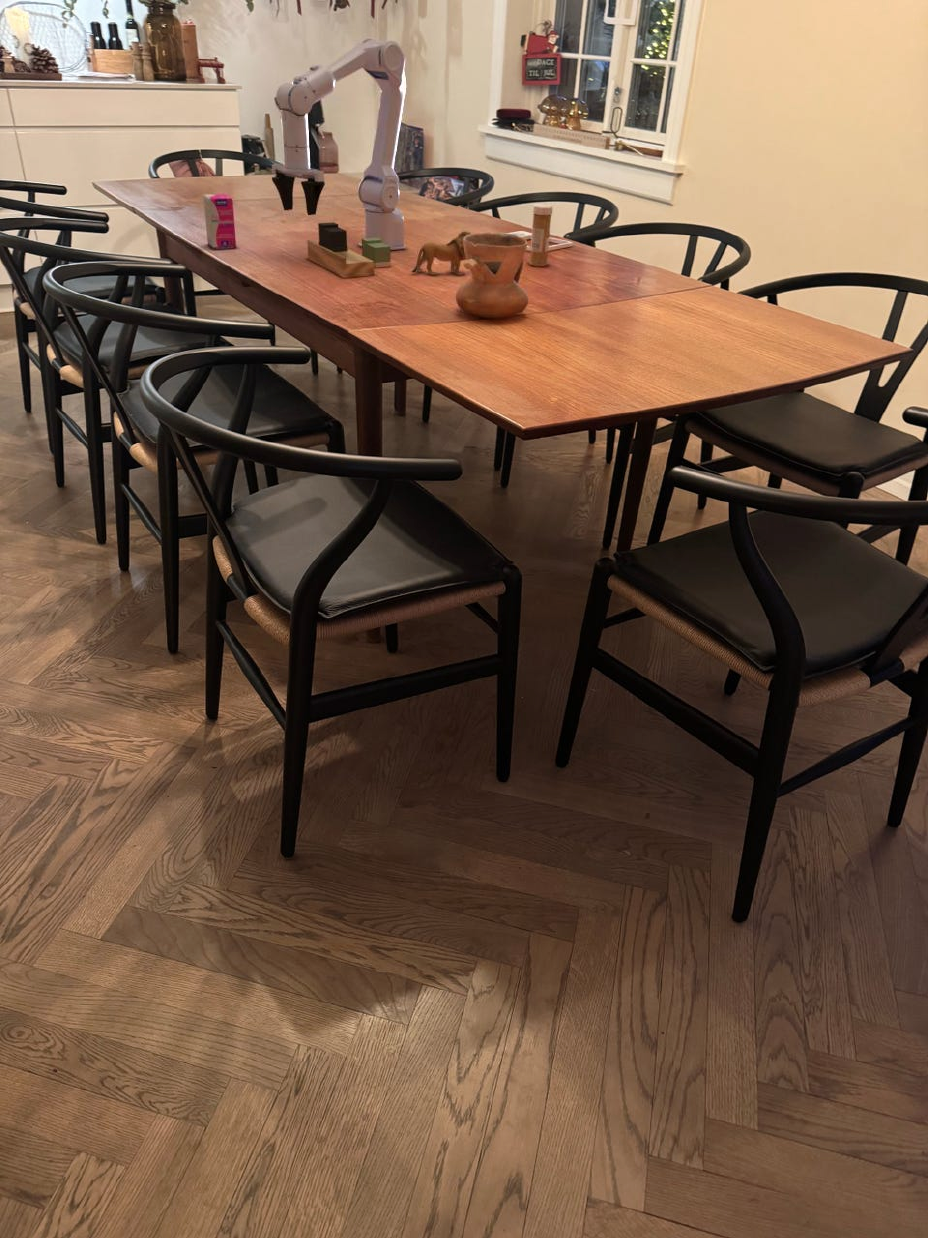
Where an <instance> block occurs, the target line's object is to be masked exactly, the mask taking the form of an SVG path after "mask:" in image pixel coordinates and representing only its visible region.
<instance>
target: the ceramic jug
mask: <svg viewBox="0 0 928 1238" xmlns="http://www.w3.org/2000/svg"><path fill="white" fill-rule="evenodd" d="M463 246H464V252H465V256H466V260H465V262H464V263H463V267H464V268H465V269H466V270H469V271H470V275H471V278H470V279H468V280H467V281H465V282H464V283H462V284H461V285H460V286H459V287H458V288H457V290H456V292H455V302H456V304H457V306H458V307H459V309H461V311H463V312H464V313H467V314H468V315H471V316H473V317H477V318H482V319H506V318H510V317H513V316H516V315H518V314H520V313H521V312H523V311H524V310H525V309H526V308H527V306H528V304H529V295H528V293H527V291H526V290H525V289H524V287H522V286H521V285H519V281H520V279H521V275H522V271H523V267H524V257H525V254H526V251H527V250H526V247H527V246H528V241H527V239H524V238H523V237H519V236H517V235H513V234H506V233H503V232H475V233H471V234H470V235H467V236H465V237H464V238H463Z"/></svg>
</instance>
